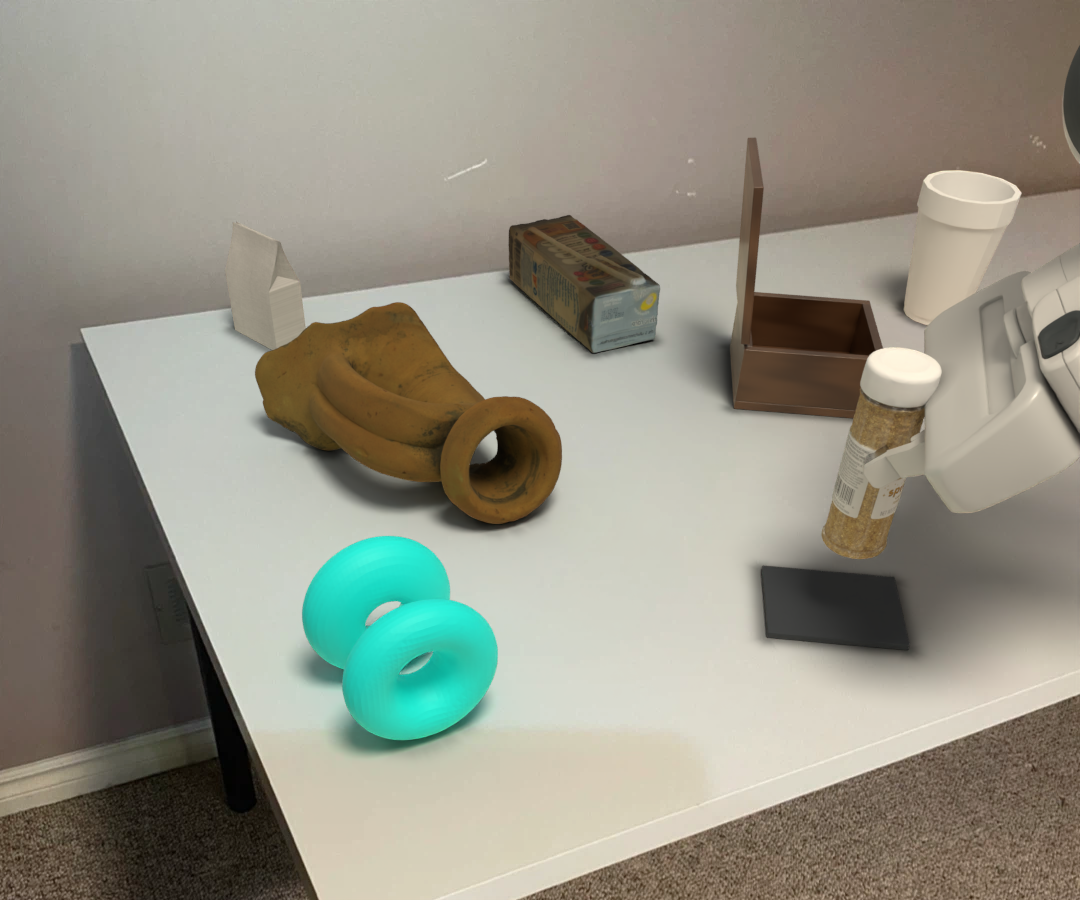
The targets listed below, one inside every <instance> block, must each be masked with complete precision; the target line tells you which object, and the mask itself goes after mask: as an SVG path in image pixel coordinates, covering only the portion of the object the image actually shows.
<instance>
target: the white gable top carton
mask: <svg viewBox="0 0 1080 900" xmlns="http://www.w3.org/2000/svg"><path fill="white" fill-rule="evenodd" d="M224 274H225V280H226V286H227V291H228V297H229V303H230V308H231V314H232V320H233V321H232V322H233V326H234V327H233V328H234V331H235V332H238V333H240V334H241V335H243V336H245V337H247V338H249V339H250V340H252V341H254V342H256V343H258V344H259V345H262V346H263V347H265V348H268V349H269V350H270V351H271V350H274V349H277V348H279V347H280V346H283V345H285V344H288V343H289V342H291V341H292V340H294V339H295V338H297V337H298V336H299V335H300V334H301V332H302V331H303V330H304V329H306V328H307V327H306V318H305V311H304V310H305V309H304V303H303V294H302V287H301V280H300V278H299V277H298V275H297V274H296V272H295V270H294V268H293V266H292V265H291V263H290V261H289V260H288V257H287V255H286V253H285V251H284V247H283V246H282V242H281V241H280V240H277V239H276V238H274V237H271V236H269V235H267V234H264V233H262V232H260V231H258V230H256V229H253V228H251V227H250V226H247V225H245V224H242V223H241V222H238V221H235V222H234V221H233V222H232V231H231V237H230V243H229V249H228V254H227V259H226V263H225V268H224Z"/></svg>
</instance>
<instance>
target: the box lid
mask: <svg viewBox="0 0 1080 900" xmlns="http://www.w3.org/2000/svg"><path fill="white" fill-rule="evenodd" d="M757 139H758V138H757V137H747V138H746V149H745V150H746V151H745V152H746V153H745V163H744V177H743V178H744V179H743V188H742V189H743V192H742V201H741V202H742V203H741V214H740V216H741V218H740V226H739V227H740V228H739V239H738V240H739V242H738V254H737V255H738V256H737V267H736V268H737V269H736V279H735V290H736V305H737V304H738V316H739V329H740V341H741V344H750V336H751V324H752V313H753V302H754V292H756V291H755V289H756V278H757V268H758V256H759V245H760V236H761V222H762V213H763V203H764V202H763V201H764V190H765V187H764V180H763V174H762V167H761V159H760V153H759V147H758V140H757Z"/></svg>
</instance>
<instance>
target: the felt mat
mask: <svg viewBox="0 0 1080 900" xmlns="http://www.w3.org/2000/svg"><path fill="white" fill-rule="evenodd" d="M760 570H761V571H760V573H761V585H762V596H763V597H762V598H763V607H764V608H763V609H764V620H765V632H766V638H768V639H778V640H790V641H800V642H801V641H802V642H813V643H823V644H834V645H844V646H855V647H856V646H858V647H866V648H879V649H889V650H890V649H891V650H901V651H908V650H909V649H910V646H911V644H910V639H909V636H908V631H907V626H906V622H905V617H904V614H903V609H902V605H901V600H900V596H899V591H898V587H897V584H896V578H895V576H890V575H877V574H868V573H867V574H866V573H856V572H855V573H854V572H843V571H832V570H821V569H820V570H819V569H808V568H797V567H785V566H774V565H764V564H763V565H762V566H761V569H760Z"/></svg>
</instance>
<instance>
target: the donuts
mask: <svg viewBox="0 0 1080 900" xmlns="http://www.w3.org/2000/svg"><path fill="white" fill-rule="evenodd" d="M391 602H398V603H400V604H399V606H397V607H396V608H394V609H392V610H390V611H388V612H387V613H384V614H383V615H382V616H380V617H379V618H377V619H376V620H375V621H374V622H373V623H371V624H370V625H366V624H367V620H368V618H369V617H370V615H371V614H372V613H373V612H374V611H375V610H376V609H377V608H378V607H380V606H382V605H384V604H387V603H391ZM301 621H302V628H303V631H304V635H305V637H306V639H307V642H308V644H309V645H310V647H311V648H312V650H313V651H314V652H315V653H316V654H317V655H318V656H319V657H320V658H321V659H322V660H324V661H325V662H327V663H328V664H330V665H332V666H334V667H336V668H338V669H341V670H343V672H342V682H341V689H342V690H341V691H342V696H343V700H344V703H345V706H346V709H347V711H348V713H349V714H350V716H351V717H352V718H353V720H354V721H355V722H356V723H357V725H359V726H361V727H362V728H363V729H364V730H366V732H369V733H371V734H373V735H374V736H377V737H380V738H383V739H386V740H392V741H393V740H394V741H411V740H413V741H414V740H418V739H423V738H426V737H430V736H432V735H436V734H439V733H441V732H443V731H445V730H447V729H449V728H451V727H452V726H454V725H455V724H457V723H458V722H460V721H461V720H462V719H464V718H465V717H466V716H467V715H469V714H470V713H471V712H472V711H473V710H474V709H475V708H476V707H477V706H478V704H479V703H480V702H481V701H482V699H483V698H484V696H485V695H486V693H487V692H488V690H489V688H490V687H491V685H492V683H493V680H494V678H495V675H496V672H497V668H498V661H499V648H498V647H499V646H498V642H497V639H496V635H495V633H494V630H493V628H492V626H491V625H490V624H489V622H488V621H487V619H486V618H485V617H484V616H483V615H482V614H481V613H480V612H478V611H477V610H476V609H474V608H472V607H471V606H469V605H467V604H466V603H462V602H459V601H456V600H452V599H451V583H450V579H449V576H448V573H447V570H446V568H445V566H444V564H443V562H442V561H441V560H440V558H439V557H438V556H437V555H436V553H435V552H433V551H432V550H431V549H430V548H429V547H428V546H425V545H424V544H422V543H421V542H419V541H417V540H414V539H411V538H408V537H404V536H397V535H378V536H372V537H368V538H364V539H361V540H359V541H356V542H354V543H352V544H350V545H348V546H346V547H344V548H342V549H341V550H339V551H338V552H337V553H335V554H333V555H332V556H331V557H330V558H329V559H327V560H326V562H324V564H322V566H321V567H320V568H319V569H318V570H317V572H316V573H315V574H314V576H313V577H312V580H311V581H310V583H309V585H308V587H307V589H306V592H305V595H304V599H303V603H302V609H301ZM431 652H432V654H431V656H430V658H429V660H428V661H426V663H425V664H424V665H423V666H421V667H420V668H418V669H417V670H415V671H413V672H409V673H403V674H402V673H401V671H402V670H403V669H404V668H405V667H406V666H407V665H409V663H410V662H411V661H413V660H414V659H416V658H417V657H420V656H422V655H424V654H427V653H431Z"/></svg>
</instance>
